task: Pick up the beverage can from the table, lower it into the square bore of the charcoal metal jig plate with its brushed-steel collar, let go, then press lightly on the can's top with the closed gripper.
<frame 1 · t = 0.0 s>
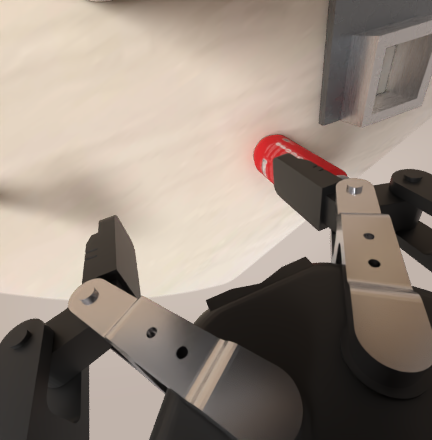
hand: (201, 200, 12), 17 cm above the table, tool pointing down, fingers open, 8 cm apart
jig: (370, 70, 31), on the table
beverage can: (267, 151, 33), on the table
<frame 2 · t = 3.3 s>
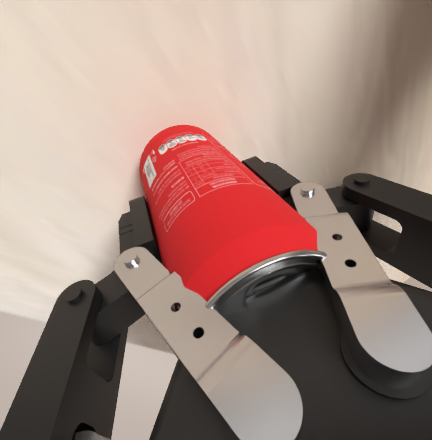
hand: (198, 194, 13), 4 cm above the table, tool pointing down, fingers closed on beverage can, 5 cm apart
beverage can: (178, 160, 16), on the table, touching gripper
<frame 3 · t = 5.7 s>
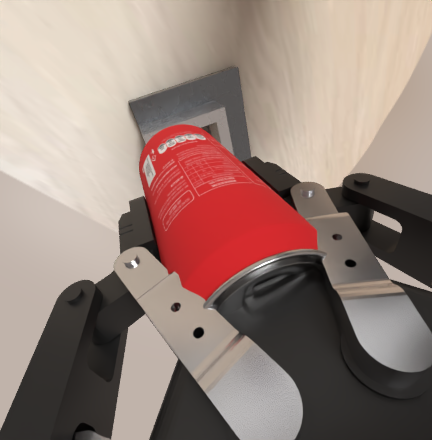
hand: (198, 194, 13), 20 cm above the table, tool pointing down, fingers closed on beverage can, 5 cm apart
jig: (186, 147, 32), on the table
beverage can: (178, 160, 16), point 15 cm above the table, touching gripper
when the fingers open (6 cm above the table, at t = 8.6 s): beverage can drops 2 cm, resting in jig.
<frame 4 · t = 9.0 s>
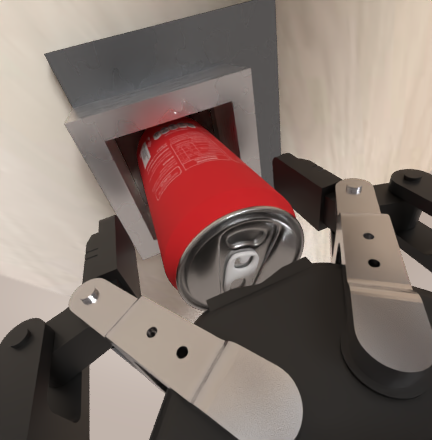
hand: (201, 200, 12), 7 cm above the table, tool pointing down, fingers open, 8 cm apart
jig: (172, 152, 18), on the table
beverage can: (172, 149, 18), resting in jig
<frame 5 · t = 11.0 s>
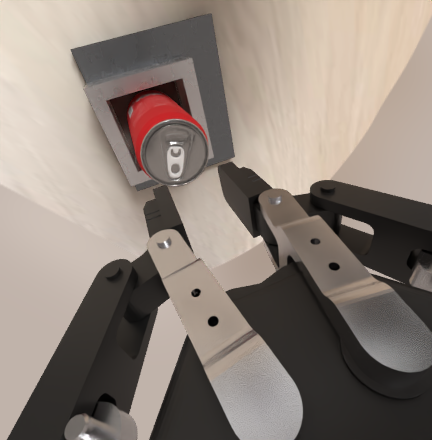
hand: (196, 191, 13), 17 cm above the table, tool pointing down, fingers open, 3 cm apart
jig: (151, 117, 26), on the table
beverage can: (151, 115, 26), resting in jig
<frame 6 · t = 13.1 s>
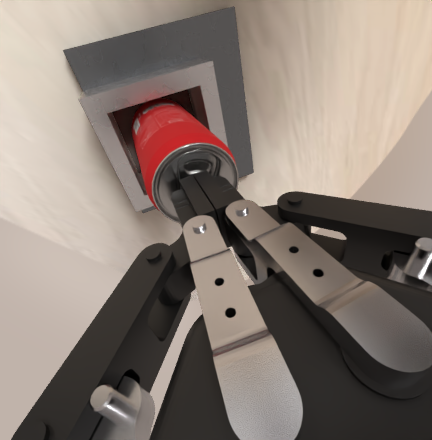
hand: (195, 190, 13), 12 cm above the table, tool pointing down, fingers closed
jig: (160, 129, 22), on the table
beverage can: (160, 127, 22), resting in jig, touching gripper
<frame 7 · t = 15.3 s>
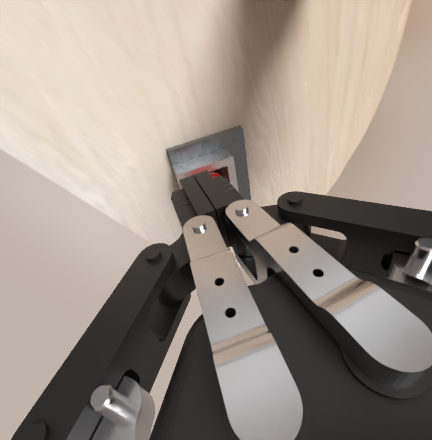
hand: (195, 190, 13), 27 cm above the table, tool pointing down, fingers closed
jig: (203, 179, 43), on the table
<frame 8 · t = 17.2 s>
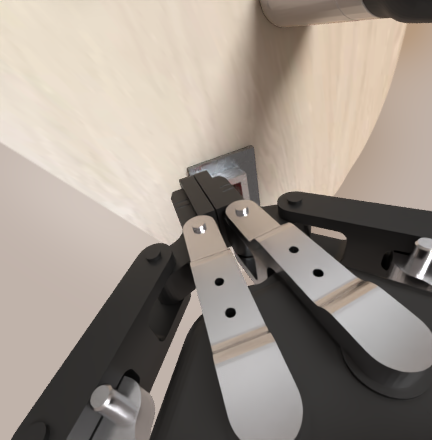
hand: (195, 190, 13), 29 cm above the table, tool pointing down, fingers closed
jig: (218, 192, 49), on the table
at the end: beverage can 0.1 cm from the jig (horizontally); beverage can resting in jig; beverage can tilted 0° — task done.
